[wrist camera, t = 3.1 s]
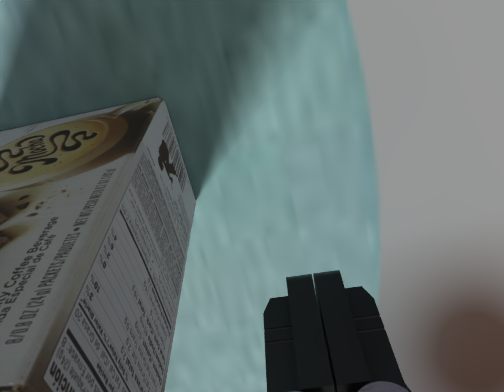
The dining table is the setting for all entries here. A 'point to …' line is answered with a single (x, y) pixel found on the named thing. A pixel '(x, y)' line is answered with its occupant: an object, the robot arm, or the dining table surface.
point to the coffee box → (92, 250)
